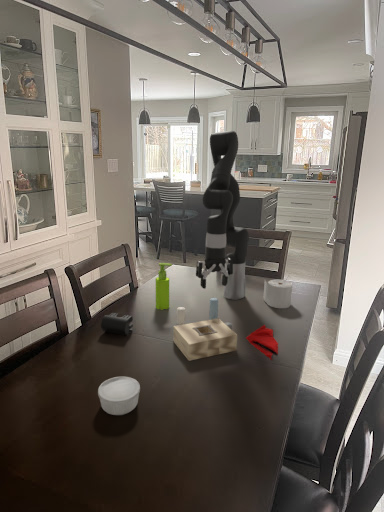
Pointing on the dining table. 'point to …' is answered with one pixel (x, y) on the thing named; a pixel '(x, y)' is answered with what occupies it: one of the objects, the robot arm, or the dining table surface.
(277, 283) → the toilet tissue
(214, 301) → the long pin
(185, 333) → the hole block
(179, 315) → the medium pin
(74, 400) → the dining table surface
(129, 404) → the ramekin
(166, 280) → the soap dispenser
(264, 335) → the cloth
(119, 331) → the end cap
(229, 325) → the short pin
